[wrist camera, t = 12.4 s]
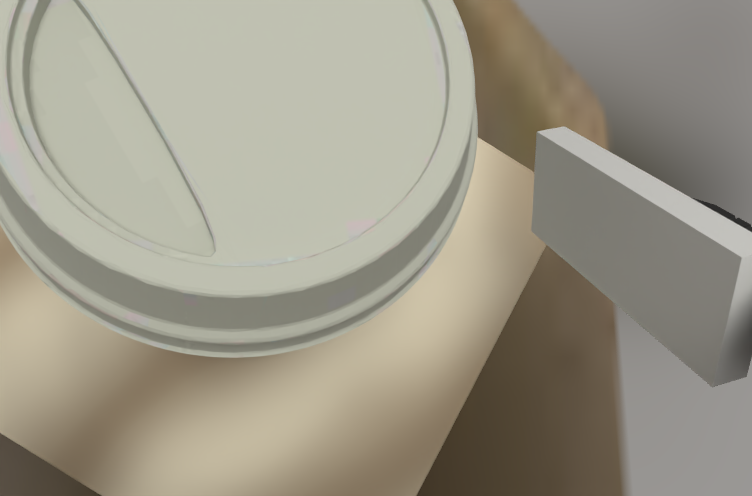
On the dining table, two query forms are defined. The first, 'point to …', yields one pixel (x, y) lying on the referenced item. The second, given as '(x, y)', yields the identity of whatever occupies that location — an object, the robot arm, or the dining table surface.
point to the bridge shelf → (271, 377)
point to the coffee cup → (233, 161)
